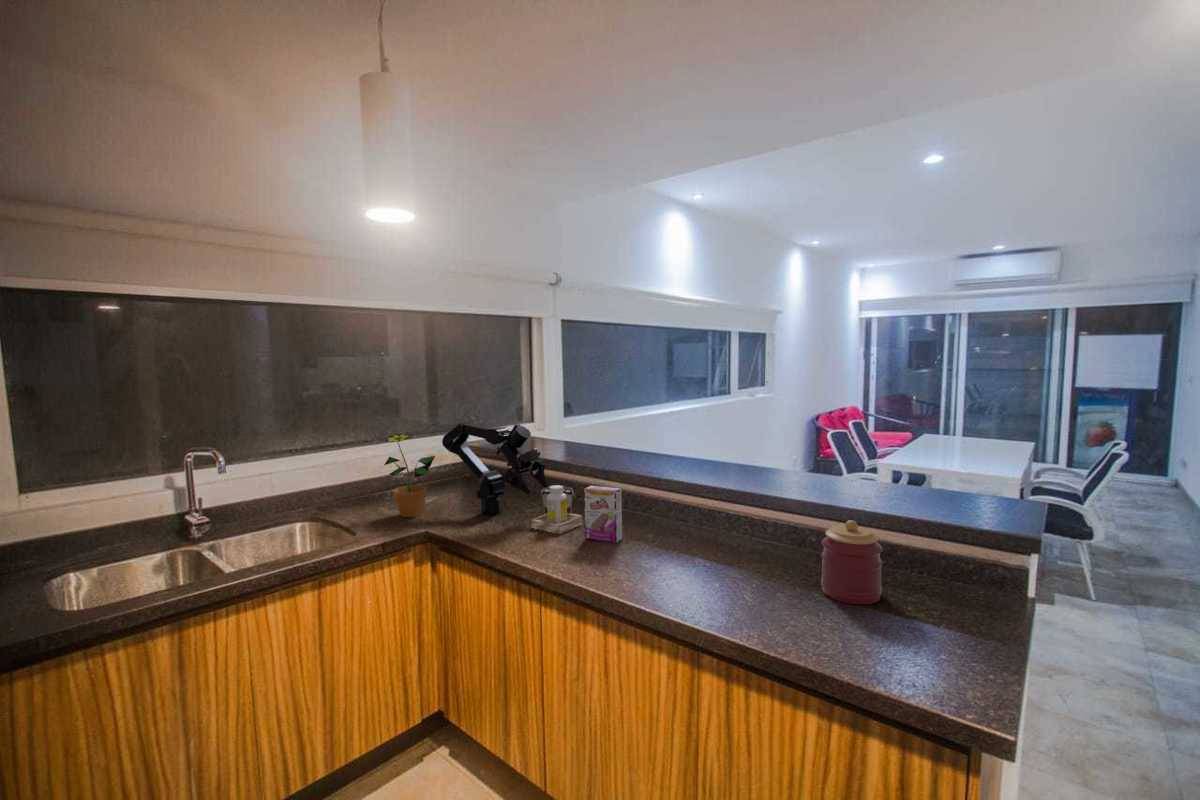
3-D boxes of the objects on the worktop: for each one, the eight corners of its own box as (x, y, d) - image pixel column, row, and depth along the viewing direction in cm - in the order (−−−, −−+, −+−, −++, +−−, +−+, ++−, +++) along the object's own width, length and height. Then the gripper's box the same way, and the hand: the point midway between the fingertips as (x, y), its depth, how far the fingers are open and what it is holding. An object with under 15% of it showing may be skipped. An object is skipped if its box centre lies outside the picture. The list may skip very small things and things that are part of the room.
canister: (878, 610, 118) (880, 532, 116) (816, 598, 125) (817, 523, 123) (883, 588, 129) (885, 517, 127) (826, 578, 135) (826, 509, 134)
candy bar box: (584, 539, 168) (582, 488, 167) (591, 535, 173) (589, 485, 172) (616, 544, 164) (615, 491, 163) (623, 539, 168) (622, 487, 167)
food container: (577, 512, 199) (576, 485, 198) (574, 517, 193) (573, 490, 192) (544, 512, 200) (543, 485, 200) (540, 517, 194) (540, 489, 193)
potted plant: (375, 516, 199) (371, 436, 196) (421, 505, 213) (417, 431, 211) (400, 525, 187) (395, 440, 185) (446, 513, 201) (443, 434, 199)
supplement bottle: (566, 520, 187) (565, 484, 186) (567, 526, 180) (567, 488, 179) (547, 521, 186) (546, 485, 185) (548, 527, 179) (547, 489, 178)
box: (531, 528, 181) (531, 519, 181) (554, 518, 191) (554, 510, 191) (560, 534, 174) (560, 525, 174) (582, 524, 184) (582, 515, 184)
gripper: (506, 445, 180) (532, 481, 175) (542, 437, 196) (567, 470, 190) (490, 466, 185) (515, 501, 180) (526, 457, 201) (550, 489, 196)
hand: (538, 490), depth 186 cm, fingers open, 9 cm apart
